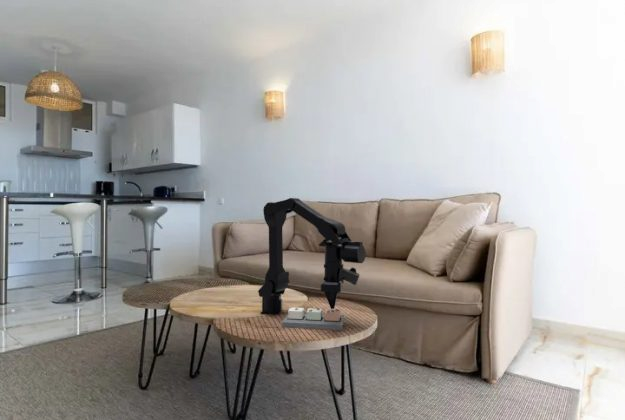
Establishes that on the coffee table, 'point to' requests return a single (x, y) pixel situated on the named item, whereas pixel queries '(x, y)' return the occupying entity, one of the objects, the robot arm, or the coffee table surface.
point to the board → (314, 323)
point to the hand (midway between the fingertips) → (332, 308)
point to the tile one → (296, 313)
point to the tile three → (332, 315)
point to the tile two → (314, 314)
